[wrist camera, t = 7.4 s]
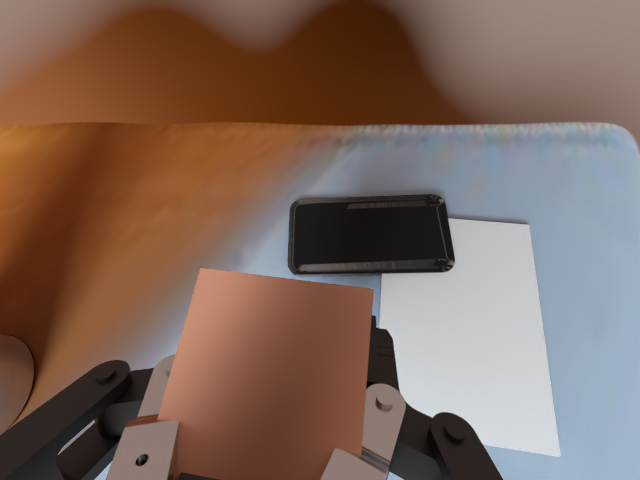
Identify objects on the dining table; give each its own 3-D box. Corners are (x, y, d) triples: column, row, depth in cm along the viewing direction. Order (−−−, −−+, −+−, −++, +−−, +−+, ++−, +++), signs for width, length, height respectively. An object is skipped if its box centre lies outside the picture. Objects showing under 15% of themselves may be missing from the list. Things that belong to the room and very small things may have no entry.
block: (252, 407, 16) (141, 474, 7) (270, 314, 18) (200, 267, 9) (344, 423, 16) (356, 516, 7) (353, 325, 18) (373, 289, 8)
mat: (373, 425, 23) (373, 426, 23) (384, 215, 30) (385, 213, 29) (555, 454, 22) (560, 456, 21) (526, 227, 28) (529, 224, 28)
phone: (457, 271, 26) (287, 274, 27) (452, 274, 27) (289, 277, 28) (443, 192, 29) (290, 198, 30) (440, 198, 30) (292, 204, 31)
